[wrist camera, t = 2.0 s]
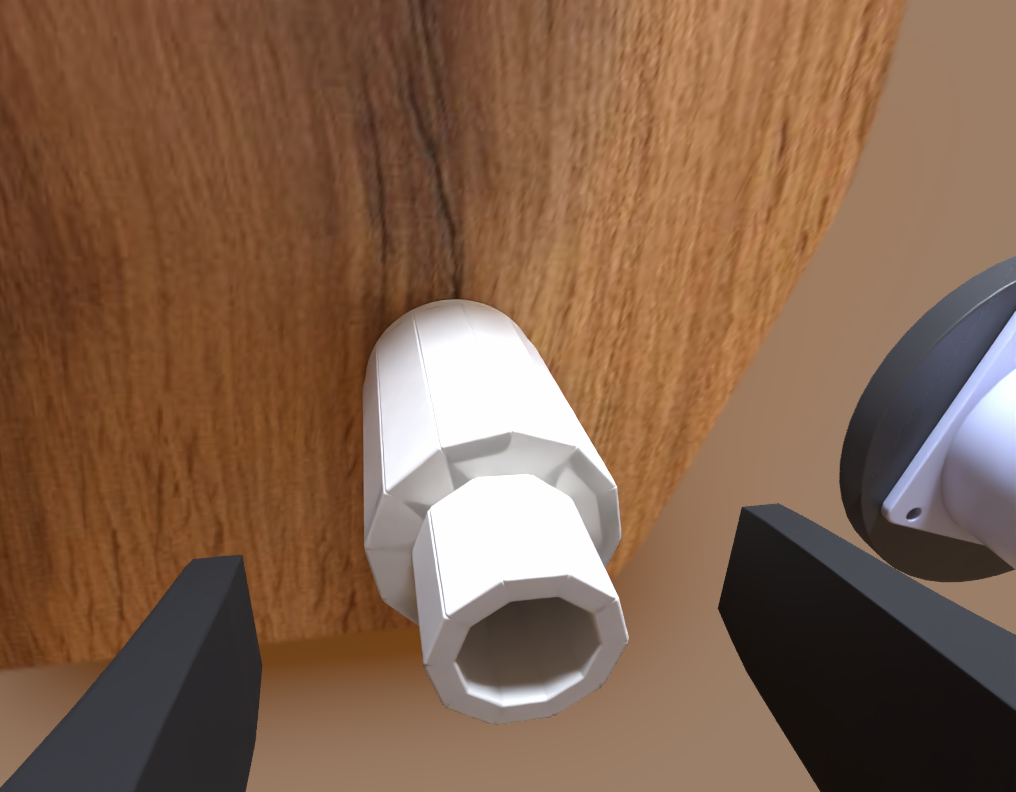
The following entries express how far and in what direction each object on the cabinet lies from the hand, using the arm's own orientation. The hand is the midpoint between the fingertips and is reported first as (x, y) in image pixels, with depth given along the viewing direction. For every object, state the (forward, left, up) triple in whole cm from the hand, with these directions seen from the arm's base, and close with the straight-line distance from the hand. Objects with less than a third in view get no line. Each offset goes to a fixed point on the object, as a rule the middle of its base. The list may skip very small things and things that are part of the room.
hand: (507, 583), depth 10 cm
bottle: (0, 0, -7) cm, 7 cm away
